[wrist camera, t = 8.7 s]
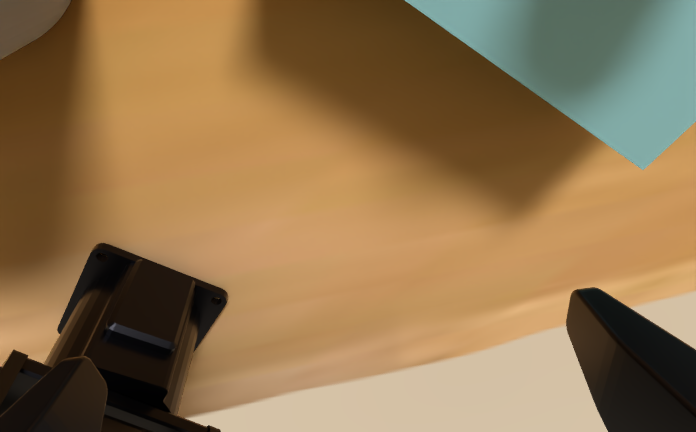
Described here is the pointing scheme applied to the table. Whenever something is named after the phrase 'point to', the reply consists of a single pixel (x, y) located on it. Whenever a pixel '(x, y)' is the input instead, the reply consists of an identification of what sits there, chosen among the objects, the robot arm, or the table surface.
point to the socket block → (592, 61)
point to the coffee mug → (27, 21)
